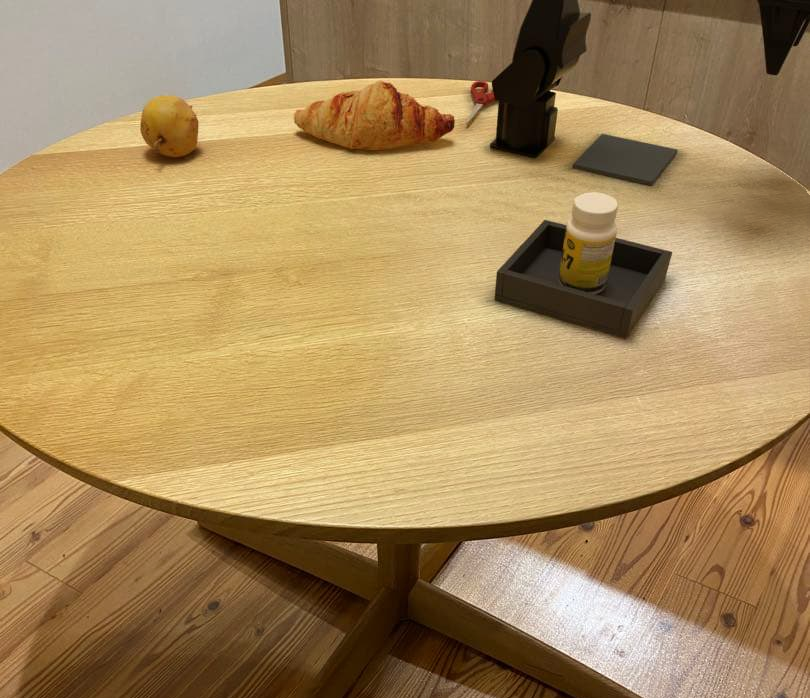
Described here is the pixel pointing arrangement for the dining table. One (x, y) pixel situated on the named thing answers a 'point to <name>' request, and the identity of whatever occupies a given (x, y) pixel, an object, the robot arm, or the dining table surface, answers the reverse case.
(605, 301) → the tray
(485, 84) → the scissors
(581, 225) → the supplement bottle
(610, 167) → the mat
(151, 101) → the fruit
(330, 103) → the croissant
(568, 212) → the dining table surface
